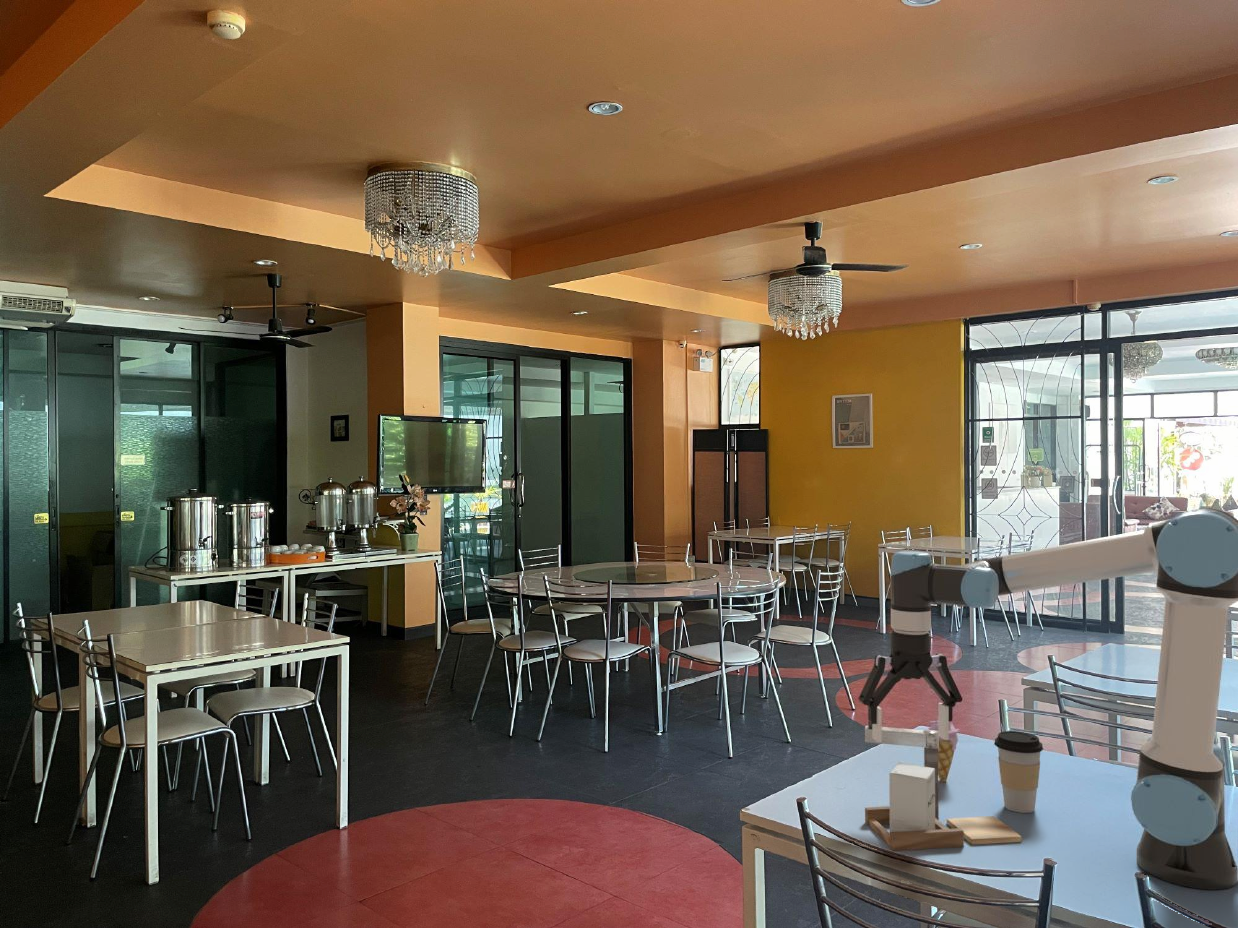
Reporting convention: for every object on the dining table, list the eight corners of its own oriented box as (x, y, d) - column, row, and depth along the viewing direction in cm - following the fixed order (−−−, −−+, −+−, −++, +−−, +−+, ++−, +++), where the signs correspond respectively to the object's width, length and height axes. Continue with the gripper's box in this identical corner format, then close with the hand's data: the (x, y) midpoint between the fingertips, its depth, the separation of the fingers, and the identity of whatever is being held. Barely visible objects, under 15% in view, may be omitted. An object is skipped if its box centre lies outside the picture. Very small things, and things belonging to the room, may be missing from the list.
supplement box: (927, 845, 168) (927, 778, 168) (888, 836, 172) (887, 771, 172) (936, 831, 175) (936, 767, 175) (898, 823, 179) (897, 761, 179)
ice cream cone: (962, 779, 203) (962, 714, 203) (956, 787, 198) (956, 720, 198) (932, 774, 207) (932, 710, 207) (926, 782, 202) (925, 716, 202)
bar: (938, 744, 183) (938, 725, 183) (938, 749, 180) (938, 729, 180) (865, 738, 187) (865, 719, 187) (865, 742, 185) (864, 723, 185)
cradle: (971, 846, 168) (970, 770, 168) (892, 850, 166) (892, 774, 166) (934, 814, 183) (933, 745, 183) (861, 818, 181) (861, 748, 181)
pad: (1021, 841, 170) (1021, 836, 170) (971, 844, 169) (971, 839, 169) (993, 820, 180) (993, 815, 180) (946, 823, 178) (946, 818, 178)
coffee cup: (1049, 817, 181) (1048, 744, 181) (1000, 814, 183) (999, 741, 183) (1037, 800, 190) (1036, 730, 190) (990, 797, 192) (989, 728, 192)
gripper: (961, 626, 179) (961, 730, 179) (842, 628, 176) (842, 734, 176) (980, 633, 171) (980, 742, 171) (856, 635, 169) (856, 746, 169)
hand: (910, 738), depth 174 cm, fingers open, 13 cm apart
